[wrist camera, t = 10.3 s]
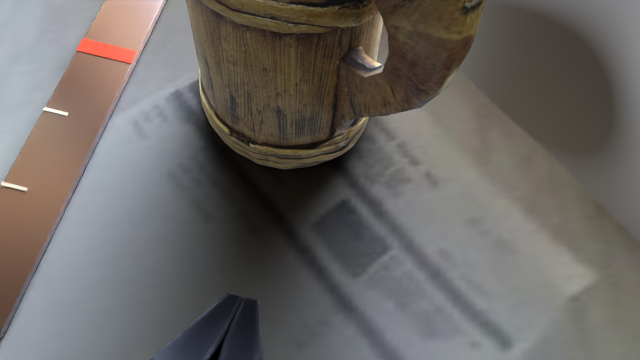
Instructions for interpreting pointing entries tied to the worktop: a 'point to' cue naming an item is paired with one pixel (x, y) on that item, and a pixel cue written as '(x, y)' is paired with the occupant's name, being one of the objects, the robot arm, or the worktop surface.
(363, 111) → the wooden mug
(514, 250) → the worktop surface
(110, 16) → the ruler
